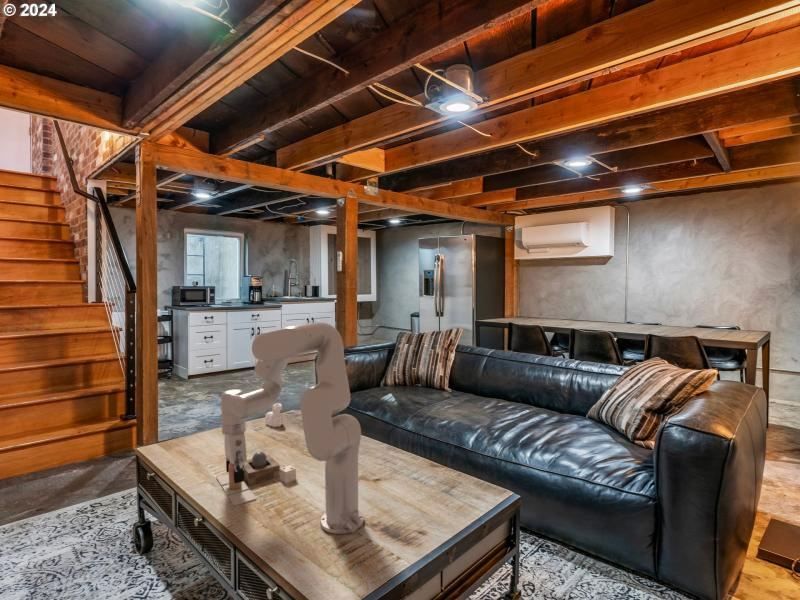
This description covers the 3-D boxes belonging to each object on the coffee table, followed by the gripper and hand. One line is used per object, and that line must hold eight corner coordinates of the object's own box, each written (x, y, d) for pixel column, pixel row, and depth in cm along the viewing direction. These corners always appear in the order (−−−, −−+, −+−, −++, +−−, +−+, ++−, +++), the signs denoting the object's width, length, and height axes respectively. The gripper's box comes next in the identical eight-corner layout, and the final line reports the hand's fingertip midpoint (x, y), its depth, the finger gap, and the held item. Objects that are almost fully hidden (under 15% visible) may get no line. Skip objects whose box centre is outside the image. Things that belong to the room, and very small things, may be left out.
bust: (284, 431, 207) (295, 409, 212) (274, 425, 201) (285, 403, 207) (267, 426, 213) (278, 405, 218) (257, 421, 208) (268, 399, 213)
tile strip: (256, 499, 140) (256, 498, 140) (234, 506, 136) (234, 505, 136) (236, 473, 159) (236, 472, 159) (216, 478, 155) (216, 477, 155)
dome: (268, 469, 157) (268, 452, 157) (254, 472, 154) (254, 456, 154) (264, 464, 161) (263, 448, 161) (250, 467, 158) (250, 451, 158)
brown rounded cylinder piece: (243, 487, 147) (242, 460, 147) (230, 491, 145) (230, 463, 144) (239, 483, 150) (239, 456, 150) (227, 486, 148) (227, 459, 147)
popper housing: (279, 476, 157) (279, 465, 156) (248, 484, 150) (248, 473, 150) (269, 465, 166) (269, 454, 165) (239, 472, 159) (239, 462, 159)
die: (295, 479, 154) (295, 468, 154) (286, 483, 151) (285, 471, 151) (289, 475, 157) (289, 464, 157) (280, 479, 154) (279, 468, 154)
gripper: (253, 432, 141) (254, 483, 143) (238, 417, 155) (239, 464, 157) (229, 437, 137) (230, 489, 138) (216, 422, 151) (217, 470, 152)
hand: (235, 476), depth 147 cm, fingers open, 9 cm apart
